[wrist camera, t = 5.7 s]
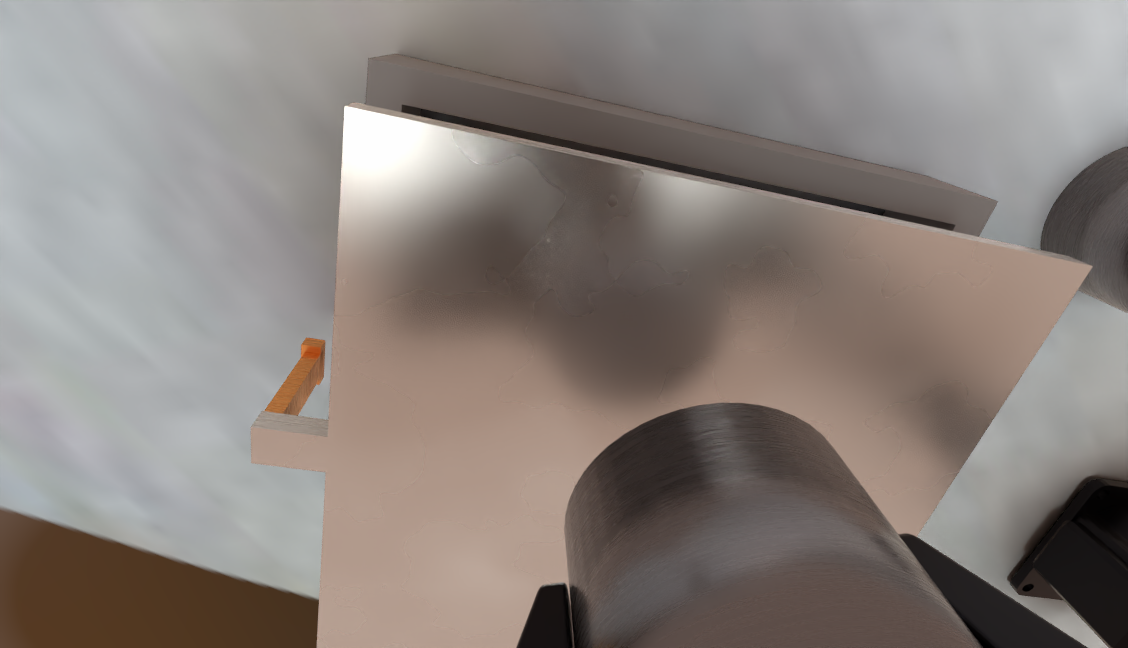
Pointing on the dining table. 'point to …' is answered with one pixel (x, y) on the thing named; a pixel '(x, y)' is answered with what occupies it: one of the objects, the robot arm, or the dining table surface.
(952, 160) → the dining table surface
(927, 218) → the scale base
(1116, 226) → the weight
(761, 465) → the weight
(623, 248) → the scale pan
